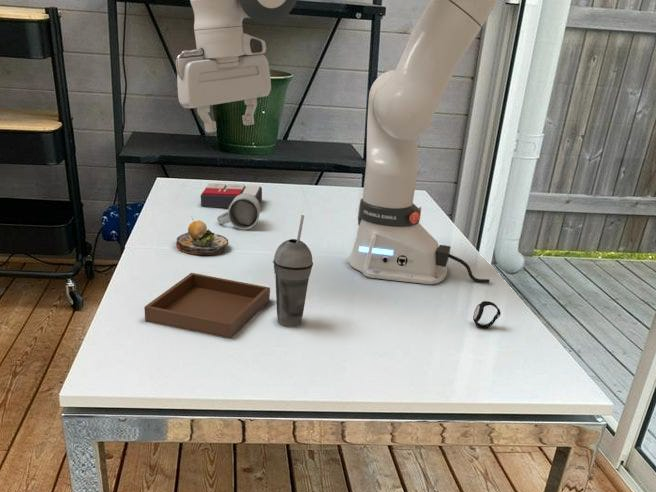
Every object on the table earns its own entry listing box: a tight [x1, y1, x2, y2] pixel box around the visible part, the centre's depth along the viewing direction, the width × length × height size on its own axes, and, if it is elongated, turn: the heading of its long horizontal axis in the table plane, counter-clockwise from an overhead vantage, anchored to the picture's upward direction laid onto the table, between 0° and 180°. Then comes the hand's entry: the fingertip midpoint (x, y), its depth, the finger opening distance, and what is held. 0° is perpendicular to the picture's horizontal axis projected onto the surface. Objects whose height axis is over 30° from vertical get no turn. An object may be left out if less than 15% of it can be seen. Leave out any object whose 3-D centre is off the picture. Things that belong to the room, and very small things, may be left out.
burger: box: [175, 217, 229, 256], centre depth 174 cm, size 12×12×8 cm
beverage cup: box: [272, 214, 314, 328], centre depth 139 cm, size 7×7×20 cm
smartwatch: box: [472, 300, 502, 330], centre depth 148 cm, size 4×5×5 cm
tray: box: [144, 272, 271, 340], centre depth 145 cm, size 17×20×3 cm
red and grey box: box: [200, 182, 263, 209], centre depth 206 cm, size 11×4×15 cm
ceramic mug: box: [216, 193, 261, 231], centre depth 190 cm, size 11×8×8 cm
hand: (230, 128), depth 148 cm, fingers open, 8 cm apart
